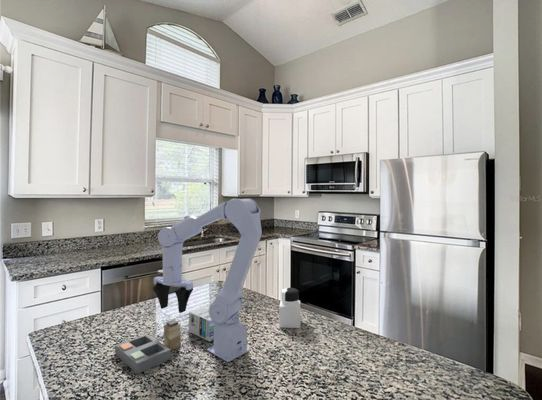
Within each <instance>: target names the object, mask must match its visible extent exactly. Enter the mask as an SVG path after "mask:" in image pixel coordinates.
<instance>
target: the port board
mask: <svg viewBox="0 0 542 400" xmlns="http://www.w3.org/2000/svg"><path fill="white" fill-rule="evenodd" d="M114 350H115V351H114V353H115V356H116V357H118V358H119V360H120V361H122V362H123V363H125V365H127V366H128V368H130V369H131V370H133V372H135V374H137V375H138V374H140V373H143V372H145V371H148V370H149V369H152V368H154V367H156V366H158V365H160V364H163V363H165V362H167V361H169V360H171V356H172V355H171V351H172V350H170V349H169V348H167V347H166V346H164V343H161V342H160V341H159V340H157V339H156V338H154V337H152V336H151V335H149V334H147V333H145V334H142V335H139V336H137V337H133V338H131V339H129V340H127V341H123V342H119V343H117V344H115V346H114Z"/></svg>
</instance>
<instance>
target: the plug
mask: <svg viewBox="0 0 542 400" xmlns="http://www.w3.org/2000/svg"><path fill="white" fill-rule="evenodd" d="M181 332H182V331H181V323H179V322H178V321H177V320H176V319H172V320H169V321H166V322H165V324H163V339H164V340H163V345H164V346H166V347H167V348H169V349H170V351H172V350H175V349H176V348H179V347H181V346H182V344H181V337H182V336H181Z"/></svg>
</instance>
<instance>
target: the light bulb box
mask: <svg viewBox="0 0 542 400" xmlns="http://www.w3.org/2000/svg"><path fill="white" fill-rule="evenodd" d="M210 305H211V304H209V305H206V306H203V307H200V308H196V309H194V310H191V311H189V312H188V332H189V333H190V334H193V335H195V336H197V337H199V338H201V339H202V340H203V339H204V340H205V341H207V342H212V341H214V323H213V321H212V319H211V318H210V316H209V307H210Z"/></svg>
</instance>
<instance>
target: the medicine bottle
mask: <svg viewBox="0 0 542 400" xmlns="http://www.w3.org/2000/svg"><path fill="white" fill-rule="evenodd" d="M280 293H281V295H280V297H281V299H280V301H279V306H278V314H279V315H278V324H279V325H278V327H279V328H282V329H301V300H299V299H300V298H299V297H300V295H299V290H298V289H297V288H294V287H285V288H282V290H281V291H280Z"/></svg>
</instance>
